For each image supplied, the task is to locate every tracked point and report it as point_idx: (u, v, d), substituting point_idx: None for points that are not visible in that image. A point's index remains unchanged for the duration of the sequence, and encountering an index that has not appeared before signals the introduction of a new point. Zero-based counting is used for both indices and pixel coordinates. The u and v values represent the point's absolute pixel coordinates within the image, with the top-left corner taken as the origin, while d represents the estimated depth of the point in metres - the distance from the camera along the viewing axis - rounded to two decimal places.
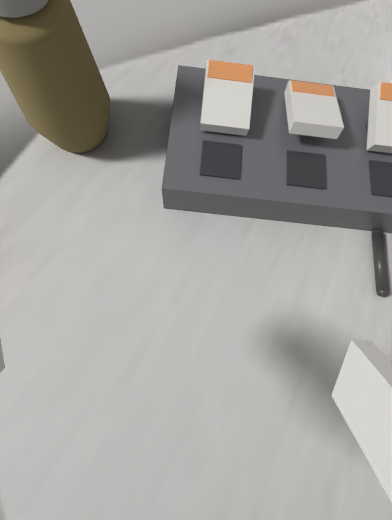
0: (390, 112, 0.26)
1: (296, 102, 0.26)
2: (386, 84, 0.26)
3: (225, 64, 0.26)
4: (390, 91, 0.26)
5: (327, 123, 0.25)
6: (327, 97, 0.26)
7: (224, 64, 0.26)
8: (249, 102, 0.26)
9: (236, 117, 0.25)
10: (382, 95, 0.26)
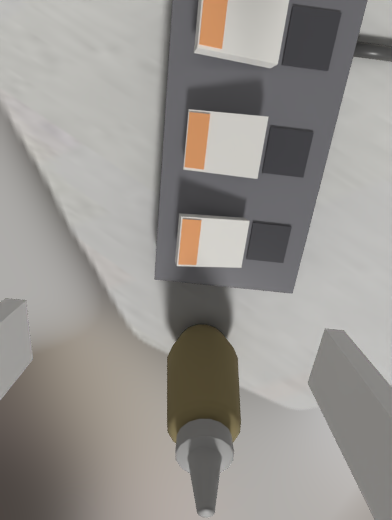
0: (240, 33, 0.19)
1: (224, 168, 0.22)
2: (202, 35, 0.19)
3: (183, 247, 0.24)
4: (212, 30, 0.19)
5: (261, 137, 0.21)
6: (213, 124, 0.22)
7: (181, 248, 0.24)
8: (222, 221, 0.24)
9: (237, 233, 0.25)
10: (216, 43, 0.19)
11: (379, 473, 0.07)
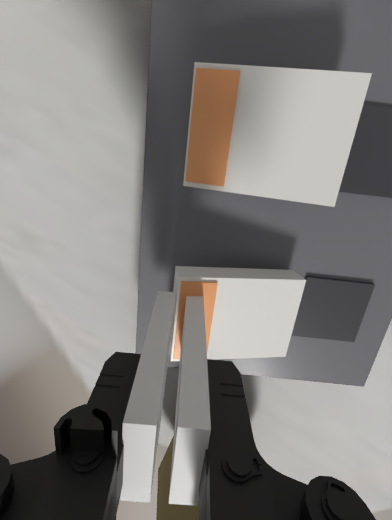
0: None
1: (265, 185, 0.11)
2: None
3: None
4: None
5: (349, 120, 0.10)
6: (245, 94, 0.10)
7: (179, 331, 0.13)
8: (255, 282, 0.13)
9: (282, 302, 0.13)
10: None
11: (177, 400, 0.09)
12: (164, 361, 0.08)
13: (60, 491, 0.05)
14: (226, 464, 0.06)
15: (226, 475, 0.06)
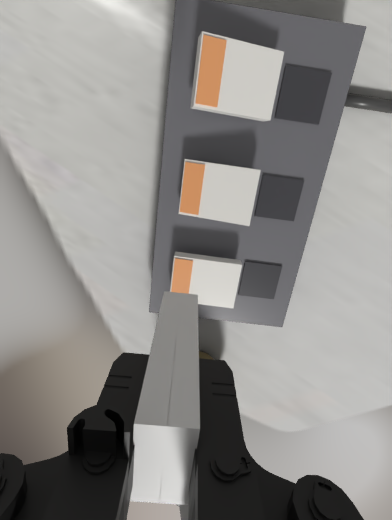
0: (234, 92, 0.20)
1: (217, 215, 0.23)
2: (198, 95, 0.20)
3: (175, 284, 0.26)
4: (208, 91, 0.20)
5: (253, 188, 0.22)
6: (207, 174, 0.22)
7: (174, 284, 0.26)
8: (213, 263, 0.25)
9: (229, 276, 0.25)
10: (211, 102, 0.20)
11: None
12: (172, 362, 0.08)
13: (73, 492, 0.05)
14: (214, 463, 0.06)
15: (214, 474, 0.06)
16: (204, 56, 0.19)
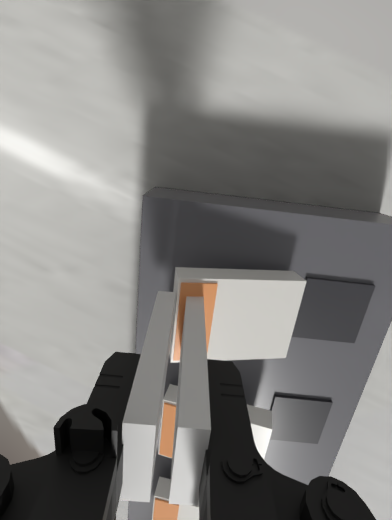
0: (232, 337, 0.14)
1: None
2: (177, 351, 0.13)
3: None
4: None
5: (261, 447, 0.15)
6: None
7: None
8: None
9: None
10: None
11: (177, 401, 0.09)
12: (164, 361, 0.08)
13: (60, 491, 0.05)
14: (226, 464, 0.06)
15: (226, 475, 0.06)
16: (183, 307, 0.12)
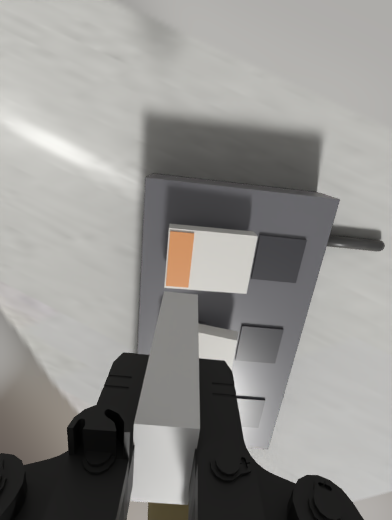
0: (206, 274, 0.20)
1: None
2: (168, 279, 0.20)
3: None
4: (178, 275, 0.20)
5: (230, 355, 0.22)
6: None
7: None
8: None
9: None
10: (182, 283, 0.20)
11: None
12: (173, 362, 0.08)
13: (73, 492, 0.05)
14: (214, 463, 0.06)
15: (214, 474, 0.06)
16: (172, 248, 0.19)
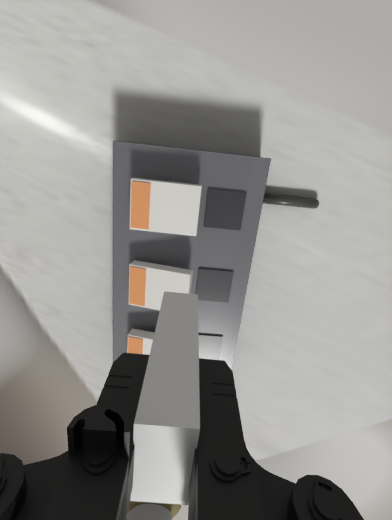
0: (162, 218, 0.25)
1: (160, 306, 0.28)
2: (132, 222, 0.25)
3: None
4: (139, 218, 0.25)
5: (186, 288, 0.27)
6: (148, 276, 0.27)
7: None
8: None
9: None
10: (144, 226, 0.25)
11: None
12: (172, 362, 0.08)
13: (73, 492, 0.05)
14: (214, 463, 0.06)
15: (214, 474, 0.06)
16: (133, 195, 0.24)
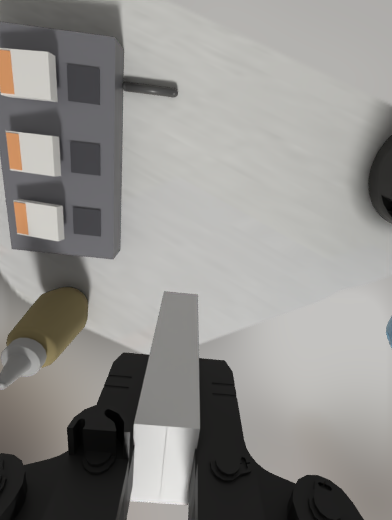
0: (23, 83, 0.31)
1: (33, 169, 0.34)
2: (1, 87, 0.31)
3: (17, 221, 0.36)
4: (6, 84, 0.31)
5: (50, 149, 0.32)
6: (21, 140, 0.33)
7: (18, 222, 0.37)
8: (38, 205, 0.35)
9: (50, 215, 0.35)
10: (10, 91, 0.31)
11: None
12: (172, 362, 0.08)
13: (73, 492, 0.05)
14: (214, 463, 0.06)
15: (214, 474, 0.06)
16: None
